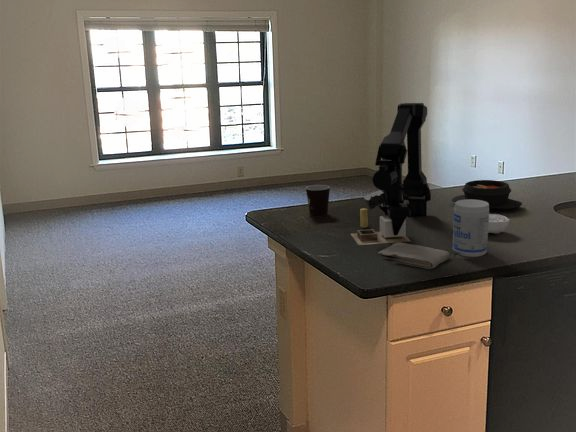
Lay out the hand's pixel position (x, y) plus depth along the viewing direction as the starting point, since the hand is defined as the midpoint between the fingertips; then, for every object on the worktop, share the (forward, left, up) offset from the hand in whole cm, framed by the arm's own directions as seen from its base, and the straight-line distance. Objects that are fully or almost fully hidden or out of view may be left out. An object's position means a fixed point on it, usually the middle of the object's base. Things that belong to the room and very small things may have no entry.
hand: (392, 232), depth 196 cm
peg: (+6, -13, -3) cm, 15 cm away
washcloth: (-1, +18, -3) cm, 18 cm away
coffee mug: (+17, -38, -3) cm, 42 cm away
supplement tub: (-18, +17, -3) cm, 25 cm away
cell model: (-31, 0, -3) cm, 31 cm away
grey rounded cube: (0, 0, 0) cm, 0 cm away
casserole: (-43, -31, -3) cm, 53 cm away
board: (+4, 0, -3) cm, 5 cm away
